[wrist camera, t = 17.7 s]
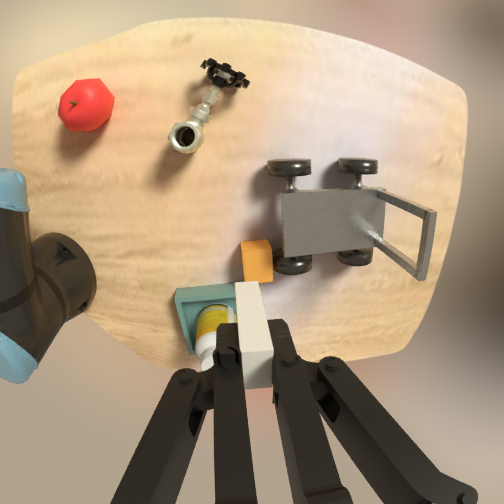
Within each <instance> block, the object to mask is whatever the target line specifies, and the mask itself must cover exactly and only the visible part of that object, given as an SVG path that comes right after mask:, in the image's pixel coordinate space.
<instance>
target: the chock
mask: <svg viewBox="0 0 504 504" xmlns="http://www.w3.org/2000/svg"><path fill="white" fill-rule="evenodd" d="M240 243H241V253H242V264H243V274H244V280H245V282H252V281H258V283H264V282H273V263H272V248H271V246H270V244H269V241H268V239H263V240H254V241H244V242H240Z"/></svg>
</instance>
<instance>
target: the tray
mask: <svg viewBox="0 0 504 504" xmlns="http://www.w3.org/2000/svg"><path fill="white" fill-rule="evenodd" d="M174 300H175V304H176V308H177V312H178V315H179V319H180V323H181V327H182V330H183V334H184V337H185V341H186V344H187V348H188V351H189V354H196V351H195V345H196V333H197V323H198V316H199V313H200V311H201V310H202V309H203V308H204V307H205V306H206V305H209V304H211V303H223V304H226V305H228V306H230V307H231V308H232V309H233V310H234V311H235V313H236V315H237V312H236V294H235V283H228V284H218V285H208V286H198V287H188V288H177V290H176V294H175V297H174Z"/></svg>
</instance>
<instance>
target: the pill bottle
mask: <svg viewBox="0 0 504 504" xmlns="http://www.w3.org/2000/svg"><path fill="white" fill-rule="evenodd" d="M220 323H237V315H236V313H235V311H234V310H233V309H232V308H231V307H230V306H228V305H226V304H223V303H211V304H209V305H206V306H205V307H204V308H203V309H202V310H201V311H200V313H199V316H198V323H197V333H196V345H195V351H196V355H197V357H198V358H199V359H200V360H201V370H202V371H205V370H208V369H209V368H211V367H212V366H213V365H214V363H213V356H212V354H213V351H214V350H215V349H216V329H217V327H218V326H219V324H220Z"/></svg>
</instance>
